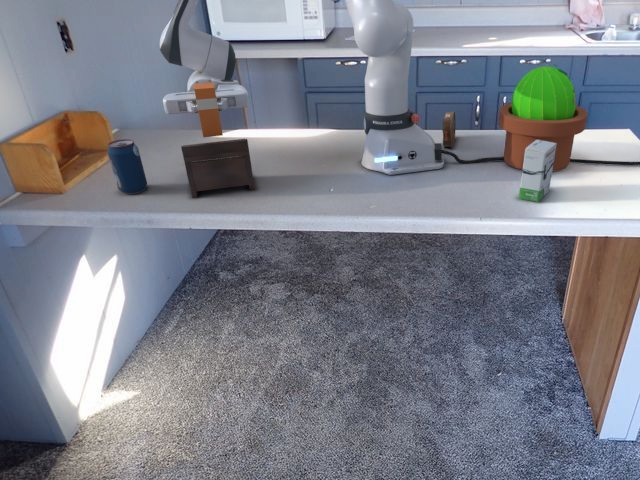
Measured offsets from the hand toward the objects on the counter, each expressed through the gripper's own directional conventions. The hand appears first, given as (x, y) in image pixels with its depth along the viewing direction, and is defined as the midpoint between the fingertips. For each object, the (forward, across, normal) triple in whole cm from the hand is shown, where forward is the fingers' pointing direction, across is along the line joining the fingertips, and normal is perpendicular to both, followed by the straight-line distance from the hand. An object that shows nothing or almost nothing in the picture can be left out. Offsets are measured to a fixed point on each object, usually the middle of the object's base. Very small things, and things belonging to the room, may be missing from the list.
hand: (208, 108), depth 128 cm
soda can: (-4, -21, +19) cm, 29 cm away
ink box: (+33, +70, +19) cm, 80 cm away
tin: (-11, +67, +19) cm, 71 cm away
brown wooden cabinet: (+1, 0, +19) cm, 19 cm away
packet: (-1, 0, +6) cm, 6 cm away
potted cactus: (+13, +82, +19) cm, 86 cm away
